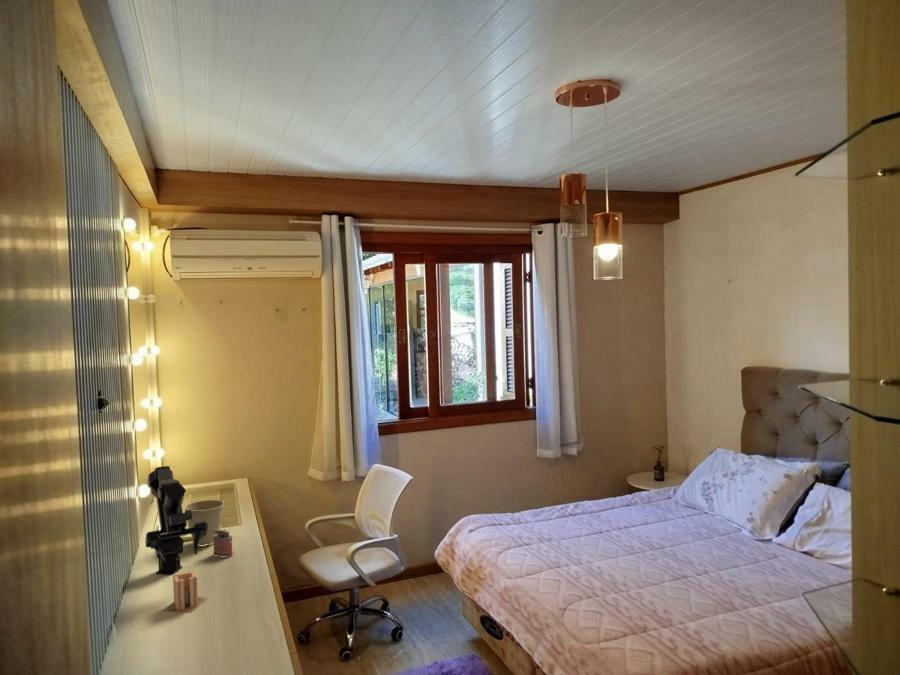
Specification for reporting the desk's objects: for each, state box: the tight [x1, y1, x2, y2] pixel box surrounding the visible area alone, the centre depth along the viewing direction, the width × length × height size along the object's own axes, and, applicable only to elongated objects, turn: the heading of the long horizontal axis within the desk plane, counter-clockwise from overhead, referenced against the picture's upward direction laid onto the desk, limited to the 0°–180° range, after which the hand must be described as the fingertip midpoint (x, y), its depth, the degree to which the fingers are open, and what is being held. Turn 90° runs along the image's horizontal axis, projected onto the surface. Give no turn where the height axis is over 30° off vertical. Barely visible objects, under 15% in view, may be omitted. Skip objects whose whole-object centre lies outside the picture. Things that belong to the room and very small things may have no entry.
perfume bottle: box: [212, 529, 234, 558], centre depth 235 cm, size 8×3×10 cm, turn 74°
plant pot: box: [184, 499, 225, 545], centre depth 248 cm, size 15×15×16 cm
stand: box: [161, 589, 210, 614], centre depth 192 cm, size 10×10×5 cm
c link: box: [172, 570, 199, 611], centre depth 192 cm, size 6×6×9 cm
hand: (180, 557), depth 198 cm, fingers open, 9 cm apart
